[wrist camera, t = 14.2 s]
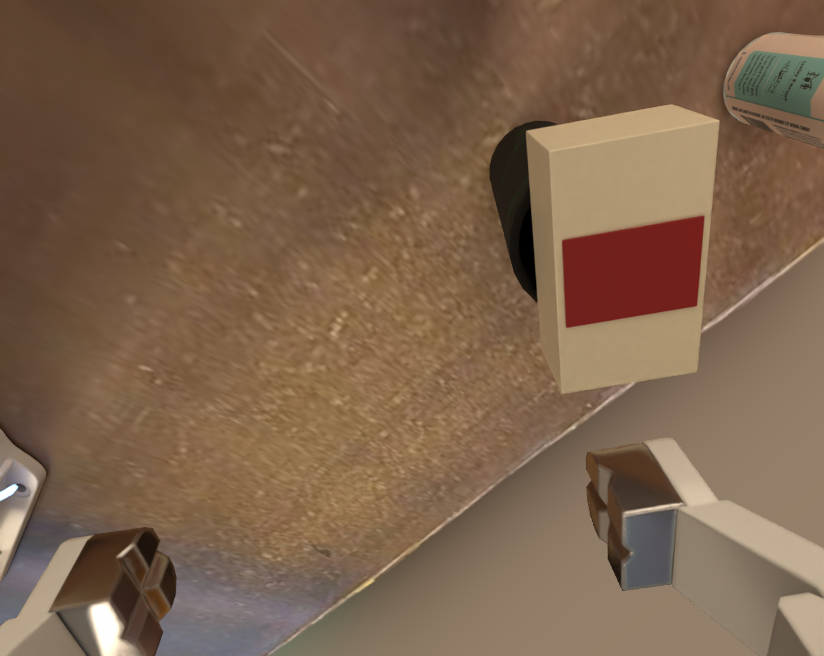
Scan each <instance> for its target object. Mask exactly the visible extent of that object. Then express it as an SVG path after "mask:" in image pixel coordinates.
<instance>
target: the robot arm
mask: <svg viewBox="0 0 824 656" xmlns="http://www.w3.org/2000/svg"><path fill="white" fill-rule="evenodd" d="M586 470H587V472H588V474H589V476H590V478H591V482H590V483H589V484H588V486H587V501H588V506H589V511H590V516H591V519H592V522H593V525H594V528H595V530H596V533H597V535H598V537H599V539H601V540H602V541H604V542H605V543H607V544H608V560H609V562H610V565H611V567H612V569H613V571H614V573H615V576H616V578H617V580H618V582H619V585H620V587H621V589H622V591H626V590H633V589H640V588H648V587H655V586H663V585H670V584H672V587H673V588H674V589H676V590H677V591H678V592H679V593H680V594H682V595H683V596H684V597H685V598H687V599H688V600H689V601H690V602H692V603H693V604H694V605H695V606H697V607H698V608H699V609H700V610H702V611H703V612H704V613H705V614H707V615H708V616H709V617H711V618H712V619H713V620H714V621H715V622H717V623H718V624H719V625H720V626H722V627H723V628H724V629H725V630H727V631H728V632H729V633H730V634H731V635H733V636H734V637H735V638H736V639H738V640H739V641H740V642H741V643H743V644H744V645H745V646H746V647H748V648H749V649H750V650H751V651H753V652H754V653H755V654H756V655H758V656H824V548H822V547H820V546H818V545H816V544H814V543H812V542H810V541H808V540H806V539H804V538H802V537H800V536H798V535H796V534H794V533H792V532H791V531H788V530H787V529H784V528H782V527H781V526H779V525H777V524H775V523H773V522H771V521H769V520H767V519H765V518H763V517H761V516H759V515H757V514H755V513H753V512H751V511H749V510H747V509H745V508H743V507H741V506H739V505H737V504H735V503H733V502H731V501H729V500H723V501H719V500H718V499H717V497H716V496H715V494H714V493H713V492H712V490H711V489H710V488H709V486H708V485H707V484H706V482H705V481H704V479H703V478H702V477H701V475H700V474H699V473H698V471H697V470H696V469H695V467H694V466H693V464H692V463H691V462H690V460H689V459H688V458H687V456H686V455H685V453H684V452H683V451H682V450H681V448H680V447H679V445H678V444H677V443H676V441H675V440H674V439H672V438H670V437H666V438H661V439H655V440H650V441H644V442H642V443H635V444H630V445H624V446H618V447H612V448H607V449H601V450H596V451H590V452H587V455H586ZM45 479H46V471H45V469H44V467H43V466H42V465H41V464H40V463H39V462H37V461H36V460H35V459H33V458H32V457H31V456H29V455H28V454H26V453H25V452H23V451H22V450H20V449H19V448H17V447H16V446H15V445H14V444H13V443H12V442H11V441H10V440H9V439H8V438H7V436H6V435H5V434H4V432H3V431H2V430H1V429H0V582H1V581H2V579H3V578H4V577H5V575H6V573H7V571H8V569H9V566H10V564H11V561H12V559H13V557H14V554H15V552H16V549H17V547H18V544H19V542H20V539H21V537H22V535H23V532H24V530H25V527H26V525H27V522H28V520H29V518H30V515H31V513H32V510H33V508H34V505H35V503H36V501H37V498H38V496H39V493H40V491H41V488H42V486H43V484H44V481H45ZM159 542H160V539H159V538H158V536H157V534H156V533H155V531H154V529H153V528H148V527H143V528H136V529H129V530H122V531H115V532H108V533H101V534H95V535H92V536H85V537H78V538H70V539H68V540H66V541H65V542H64V543H62V544H61V545H60V546H59V548H58V550H57V551H56V553H55V555H54V556H53V558H52V560H51V561H50V563H49V565H48V566H47V568H46V570H45V571H44V573H43V575H42V576H41V578H40V580H39V581H38V583H37V585H36V586H35V588H34V590H33V591H32V593H31V595H30V596H29V598H28V600H27V601H26V603H25V605H24V606H23V608H22V610H21V611H20V613H19V615H18V616H17V618H15V619H9V620H7V621H6V622H4V623H3V624H2V625H1V626H0V656H155V654H156V651H157V649H158V646H159V643H160V640H161V637H162V634H163V631H162V628H161V626H160V624H159V621H160V620H161V619H162V618H163V617H164V616H165V615H166V614H167V613H168V612H169V611H170V610H171V608H172V604H173V601H174V598H175V595H176V574H175V569H174V566H173V564H172V562H171V560H170V558H169V557H168V556H167V555H165V554H163V553H161V552H159V551H158V550H157V547H158V545H159Z"/></svg>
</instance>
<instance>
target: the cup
mask: <svg viewBox="0 0 824 656" xmlns="http://www.w3.org/2000/svg"><path fill="white" fill-rule="evenodd" d="M555 125H559V124H555V123H552V122H548V121H534V122H529V123H525V124H523V125H521V126H518V127H516V128H514V129H513V130H512V131H511V132H509V133H508V134H507V135H505V137H504V138H503V139H502V140H501V141H500V143H499V144H498V145H497V147H496V149H495V151H494V153H493V155H492V159H491V163H490V181H491V185H492V189H493V193H494V197H495V201H496V205H497V209H498V213H499V217H500V220H501V224H502V228H503V232H504V236H505V240H506V244H507V248H508V252H509V255H510V259H511V263H512V267H513V271H514V273H515V275H516V277H517V279H518V281H519V282H520V284H521V286H522V288H523V289H524V290H525V291H526V292H527V293H528V294H529V295H530V296H531V297H532V298H533V299H534V300H535V301H536V302H537V303H538V299H537V285H536V270H535V256H534V241H533V227H532V213H531V198H530V184H529V170H528V155H527V141H526V131H528V130H533V129H539V128H544V127H550V126H555Z"/></svg>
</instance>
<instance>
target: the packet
mask: <svg viewBox="0 0 824 656" xmlns="http://www.w3.org/2000/svg"><path fill="white" fill-rule="evenodd" d="M718 133H719V120H716V119H713V118H711V117H708V116H705V115H702V114H699V113H696V112H693V111H690V110H687V109H684V108H681V107H678V106H675V105H672V104H670V105H664V106H659V107H654V108H648V109H643V110H637V111H632V112H626V113H621V114H615V115H610V116H604V117H599V118H593V119H588V120H582V121H577V122H572V123H566V124H561V125H555V126H550V127H544V128H539V129H533V130H528V131H526V141H527V155H528V170H529V184H530V198H531V213H532V227H533V241H534V256H535V270H536V285H537V299H538V313H539V328H540V342H541V350H542V352H543V354H544V357H545V359H546V361H547V363H548V365H549V368H550V370H551V372H552V374H553V376H554V379H555V381H556V383H557V385H558V387H559V389H560V392H561V393H562V394H564V393H570V392H577V391H583V390H589V389H595V388H601V387H608V386H614V385H620V384H626V383H632V382H638V381H644V380H651V379H657V378H663V377H669V376H676V375H682V374H688V373H693V372H697V369H698V357H699V347H700V335H701V324H702V313H703V302H704V290H705V279H706V268H707V257H708V245H709V234H710V223H711V212H712V201H713V189H714V178H715V167H716V156H717V144H718Z"/></svg>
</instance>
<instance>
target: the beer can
mask: <svg viewBox="0 0 824 656" xmlns="http://www.w3.org/2000/svg"><path fill="white" fill-rule="evenodd" d="M723 97H724V102H725V105H726V107H727V109H728V111H729V112H730V114H731V115H732V116H733V117H735V118H736V119H737V120H739V121H741V122H743V123H746V124H749V125H752V126H755V127H758V128H761V129H764V130H768V131H771V132H774V133H777V134H780V135H783V136H786V137H789V138H792V139H796V140H799V141H802V142H805V143H808V144H811V145H814V146H817V147H820V148H823V149H824V36H816V35H801V34H789V33H783V32H776V33H769V34H766V35H763V36H761V37H759V38H756V39H755V40H753V41H752V42H750V43H749V44H748V45H746V46H745V47H744V48H743V49H742V50H741V51H740V52H739V54H738V55H737V56H736V57H735V59H734V60H733V61H732V63H731V65H730V67H729V69H728V71H727V74H726V77H725V81H724V86H723Z"/></svg>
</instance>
